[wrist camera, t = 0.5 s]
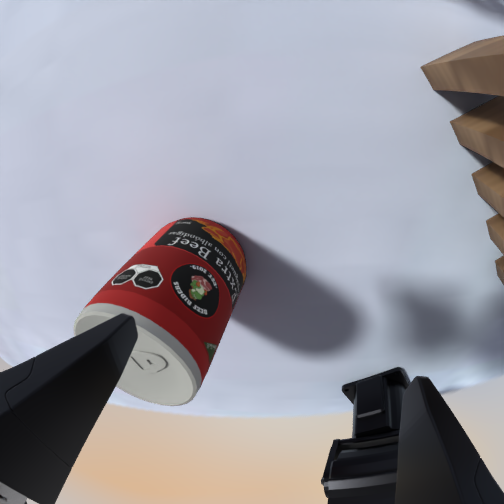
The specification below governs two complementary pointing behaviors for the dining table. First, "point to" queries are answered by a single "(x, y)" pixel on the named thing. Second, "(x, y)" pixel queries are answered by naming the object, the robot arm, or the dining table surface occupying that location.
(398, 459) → the robot arm
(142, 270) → the canned food
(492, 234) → the tile
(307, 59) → the dining table surface
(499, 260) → the tile
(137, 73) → the dining table surface
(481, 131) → the tile
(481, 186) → the tile
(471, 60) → the tile
